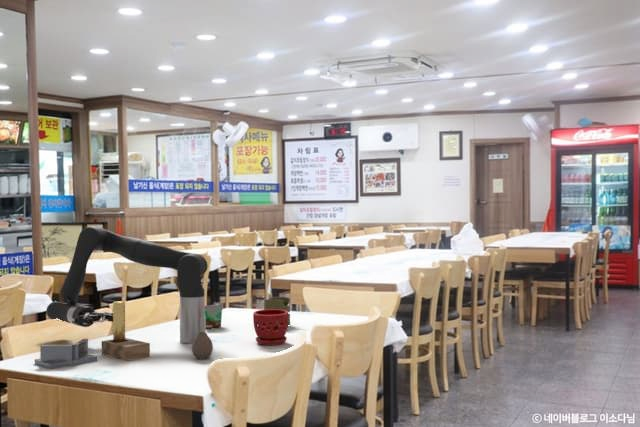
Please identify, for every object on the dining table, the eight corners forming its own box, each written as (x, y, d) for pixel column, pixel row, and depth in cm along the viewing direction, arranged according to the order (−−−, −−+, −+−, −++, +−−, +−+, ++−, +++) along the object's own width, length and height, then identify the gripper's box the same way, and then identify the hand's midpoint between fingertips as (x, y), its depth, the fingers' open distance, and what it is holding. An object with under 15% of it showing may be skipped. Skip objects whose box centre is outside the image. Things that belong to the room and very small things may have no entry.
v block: (98, 361, 223) (98, 341, 223) (50, 369, 211) (50, 348, 211) (81, 356, 231) (81, 337, 231) (34, 364, 219) (34, 344, 219)
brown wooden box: (101, 354, 234) (101, 341, 234) (124, 350, 240) (124, 337, 240) (126, 360, 223) (126, 347, 223) (149, 356, 229) (149, 343, 229)
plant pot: (248, 341, 255) (248, 310, 255) (281, 339, 261) (281, 308, 261) (259, 347, 243) (259, 314, 243) (293, 344, 249) (293, 312, 249)
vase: (203, 361, 222) (203, 334, 222) (187, 359, 225) (187, 332, 225) (217, 357, 227) (216, 331, 227) (201, 355, 231) (201, 329, 231)
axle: (126, 352, 236) (126, 301, 236) (123, 354, 232) (123, 302, 232) (115, 352, 236) (114, 301, 236) (112, 355, 232) (111, 302, 232)
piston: (258, 299, 289) (274, 296, 299) (258, 326, 289) (274, 323, 299) (279, 300, 283) (295, 297, 293) (279, 329, 283) (295, 325, 293)
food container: (217, 330, 282) (217, 306, 282) (203, 329, 283) (203, 305, 283) (227, 325, 294) (227, 302, 294) (214, 325, 295) (214, 302, 295)
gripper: (63, 307, 248) (84, 311, 237) (98, 303, 258) (121, 307, 247) (63, 328, 248) (84, 333, 237) (98, 323, 258) (121, 328, 247)
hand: (103, 320), depth 242 cm, fingers open, 8 cm apart
